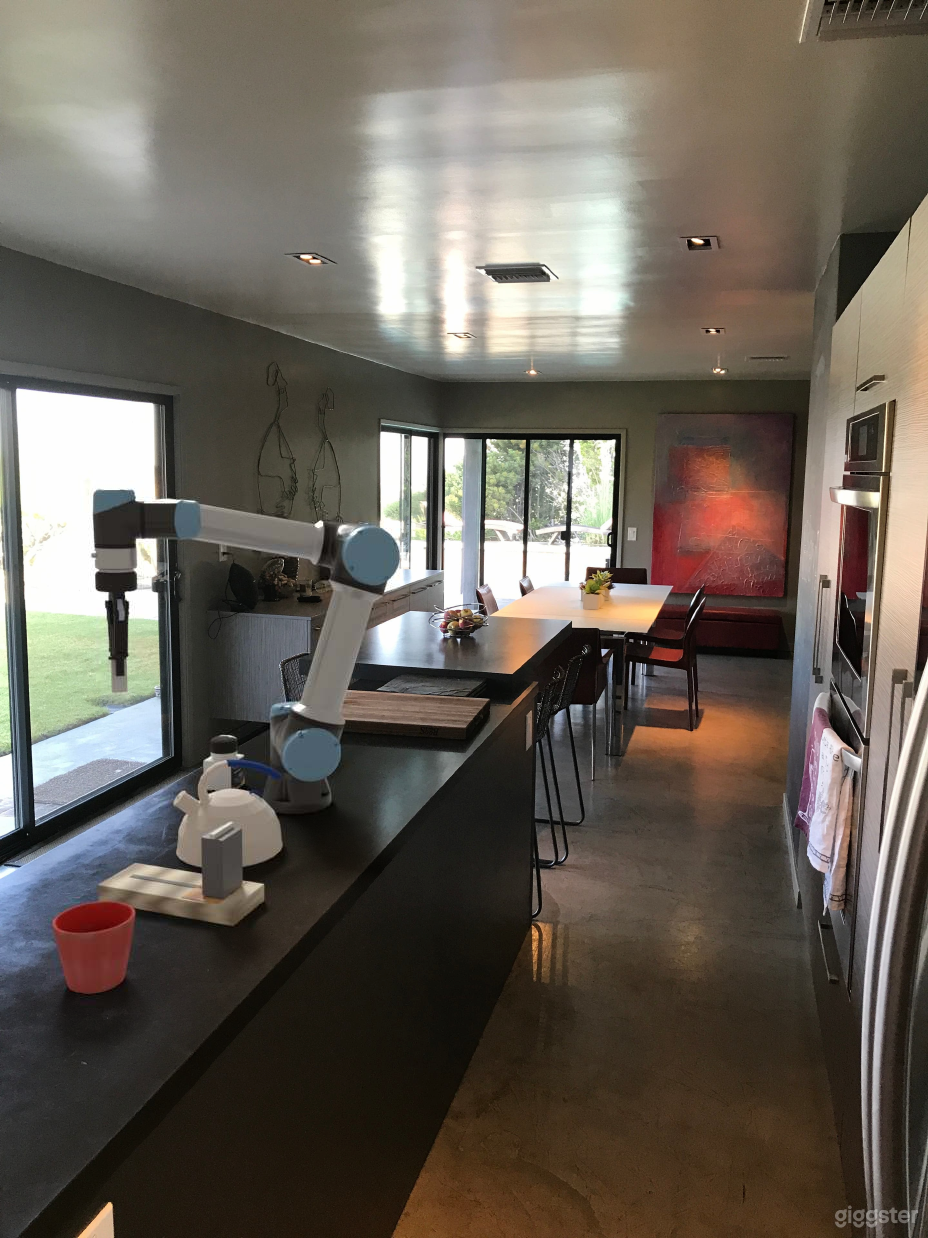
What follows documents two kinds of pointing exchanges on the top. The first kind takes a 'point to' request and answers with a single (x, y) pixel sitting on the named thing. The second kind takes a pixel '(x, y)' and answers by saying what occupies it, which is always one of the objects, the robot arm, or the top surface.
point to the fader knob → (222, 861)
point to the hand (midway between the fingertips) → (119, 691)
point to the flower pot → (94, 944)
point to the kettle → (229, 818)
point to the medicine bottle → (227, 776)
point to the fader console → (178, 894)
